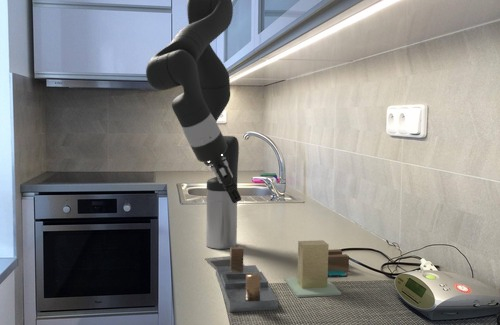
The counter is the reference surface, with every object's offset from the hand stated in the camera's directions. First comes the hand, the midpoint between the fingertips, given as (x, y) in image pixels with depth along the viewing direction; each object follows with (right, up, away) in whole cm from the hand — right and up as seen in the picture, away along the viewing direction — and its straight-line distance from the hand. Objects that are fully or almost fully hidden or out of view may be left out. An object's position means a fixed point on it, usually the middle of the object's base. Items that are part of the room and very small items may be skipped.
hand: (233, 193), depth 123 cm
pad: (+18, -22, -2) cm, 29 cm away
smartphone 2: (+24, -21, +13) cm, 34 cm away
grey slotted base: (+3, -22, -5) cm, 22 cm away
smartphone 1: (-2, -20, +14) cm, 25 cm away
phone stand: (+24, -20, +13) cm, 34 cm away
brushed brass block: (+18, -21, -2) cm, 28 cm away
